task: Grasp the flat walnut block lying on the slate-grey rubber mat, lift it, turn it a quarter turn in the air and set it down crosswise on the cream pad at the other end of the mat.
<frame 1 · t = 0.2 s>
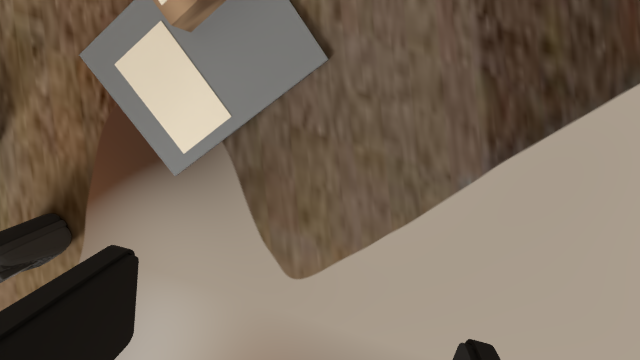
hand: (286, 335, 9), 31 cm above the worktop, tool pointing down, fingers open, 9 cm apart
headphones: (19, 185, 46), on the worktop
mat: (200, 57, 38), on the worktop
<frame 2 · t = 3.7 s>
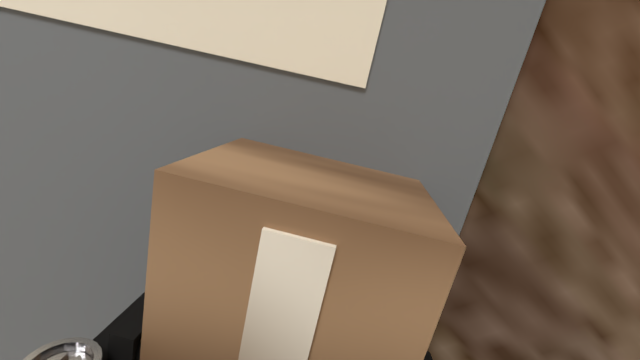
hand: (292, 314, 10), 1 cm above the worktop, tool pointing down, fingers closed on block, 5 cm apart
block: (294, 310, 10), point 1 cm above the worktop, touching gripper, mat
mat: (171, 82, 9), on the worktop
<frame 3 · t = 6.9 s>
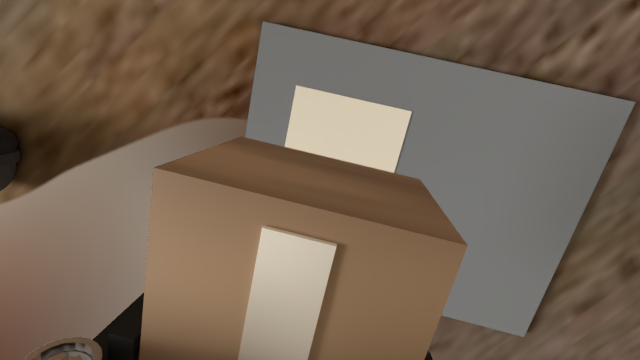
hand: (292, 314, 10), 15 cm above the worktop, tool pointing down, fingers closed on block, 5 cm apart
block: (294, 309, 10), point 15 cm above the worktop, touching gripper
mat: (402, 188, 24), on the worktop
when the fingers open (2 cm above the worktop, at t = 9.9 s): block drops 1 cm, resting on mat.
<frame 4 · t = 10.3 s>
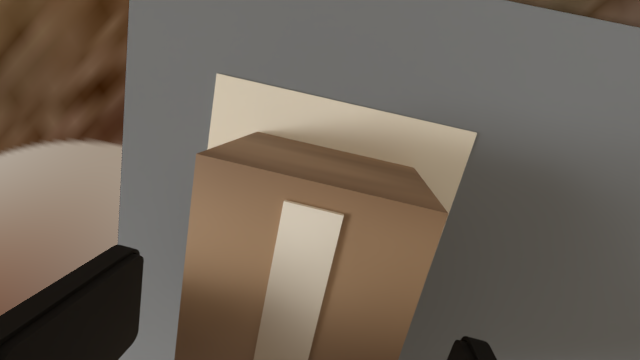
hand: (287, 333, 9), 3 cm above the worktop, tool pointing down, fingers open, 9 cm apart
block: (303, 286, 11), point 1 cm above the worktop, touching mat
mat: (445, 287, 12), on the worktop
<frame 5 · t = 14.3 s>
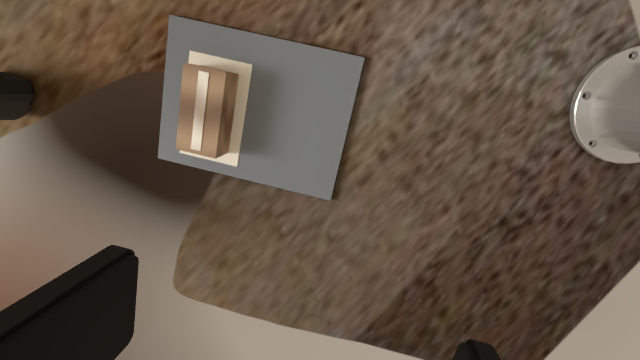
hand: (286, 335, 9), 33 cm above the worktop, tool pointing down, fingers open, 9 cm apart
headphones: (18, 32, 43), on the worktop
block: (214, 110, 41), point 1 cm above the worktop, touching mat
mat: (254, 111, 41), on the worktop
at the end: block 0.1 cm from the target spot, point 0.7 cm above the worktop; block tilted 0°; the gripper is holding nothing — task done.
